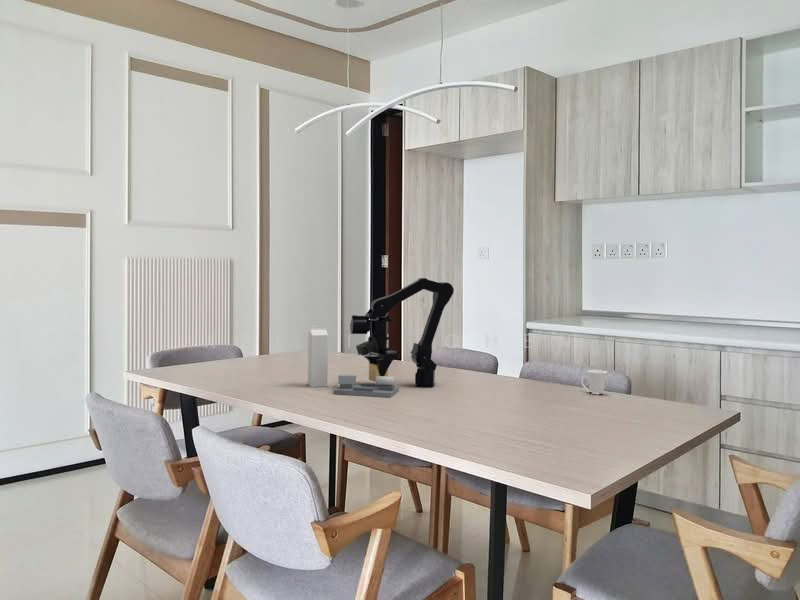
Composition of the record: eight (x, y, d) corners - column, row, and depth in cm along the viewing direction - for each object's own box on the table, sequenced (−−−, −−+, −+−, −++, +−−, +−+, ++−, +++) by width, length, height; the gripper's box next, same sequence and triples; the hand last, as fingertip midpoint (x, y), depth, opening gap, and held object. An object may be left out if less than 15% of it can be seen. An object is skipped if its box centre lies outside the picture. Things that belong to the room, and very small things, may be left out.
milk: (307, 384, 236) (308, 325, 236) (323, 383, 239) (324, 324, 238) (311, 387, 231) (311, 326, 230) (327, 386, 233) (328, 326, 232)
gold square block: (380, 378, 237) (380, 361, 237) (387, 380, 233) (387, 363, 233) (368, 379, 234) (369, 362, 234) (375, 381, 230) (376, 364, 230)
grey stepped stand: (398, 391, 226) (398, 374, 225) (390, 397, 214) (391, 379, 214) (344, 388, 230) (344, 371, 230) (333, 394, 218) (333, 376, 218)
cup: (599, 396, 222) (600, 373, 222) (575, 392, 230) (576, 369, 230) (611, 394, 226) (611, 371, 226) (587, 390, 234) (587, 368, 234)
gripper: (347, 332, 237) (346, 374, 237) (372, 337, 221) (371, 382, 221) (373, 331, 243) (372, 372, 243) (399, 335, 227) (399, 379, 227)
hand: (378, 376), depth 234 cm, fingers closed on gold square block, 5 cm apart
